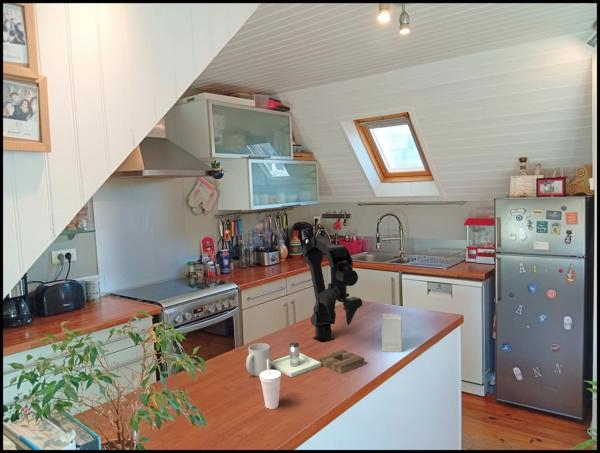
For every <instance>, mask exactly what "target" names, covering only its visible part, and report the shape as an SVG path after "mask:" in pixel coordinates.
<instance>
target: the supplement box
mask: <svg viewBox="0 0 600 453" xmlns="http://www.w3.org/2000/svg"><path fill="white" fill-rule="evenodd" d="M402 321H403V320H402V314H401V313H381V347H382V348H381V350H382V352H388V353H389V352H390V353H402V352H403V334H402V331H403V328H402V326H403V322H402Z"/></svg>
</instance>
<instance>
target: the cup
mask: <svg viewBox="0 0 600 453" xmlns="http://www.w3.org/2000/svg"><path fill="white" fill-rule="evenodd" d="M247 350H248V355H247V357H246V360H245V361H246V362H245V368H246V371H247V372H248V373H249V374H250V375H251V376H255V377H260V376H259V375H260V373H261V372H263V371H266V370H267V359H268V360H269V370H272V367H271V363H270V361H271V347H270V344H267V343H260V342H258V343H253V344H251V345H249V346H248V349H247Z"/></svg>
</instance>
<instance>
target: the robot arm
mask: <svg viewBox="0 0 600 453" xmlns="http://www.w3.org/2000/svg"><path fill="white" fill-rule="evenodd" d="M324 254H325V255H326V260H327V261H328V267H329V269H330V271H329V272H330V282H329V283H328V284H327V288H326V284H325V279H324V278H325V277H324V272H323V268H322V262H323V260H324ZM301 255H302V257H303V259H304V262H305V263H306V264H307V266H308V267H309V270H310V275H311V281H312V287H313V291H314V292H313V293H314V297H315V304H314V306H313V313H312V316H311V317H310V322H311V326H314V328H315V332H314V333H315V336H312V340H316V341H317V342H320V343H325V342H328V341H331V340H334V339H335V337H334V336H333V335H332V332H333V331H332V325H335V323H336V317H337V314H336V303H337V302H339V303H342V305H343V307H342V309H343V310H344V311H345V318H346V325H348V326H349V325H351V322H352V321H353V318H354V316H355V314H356V312H357V310H358V309H359V308H361V307H363V300H362V298H360V297H357V296H351V297H350V293H348V289H347V288H348V287H352V286H355V285H356V284H357V283H358V280H359V275H358V273H357V271H355V270H354V269H353V266H354V263H353V258H352V256H351V254H350V252H349V249H348V248H347V246H345V245H340V244H334V243H333V242H331V241H330V240H328V239H326V237H325V236H313V237H312V238H311V239H310V240H309V241H307V242H306V243H305V244H304V245H303V246H302V249H301Z"/></svg>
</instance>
